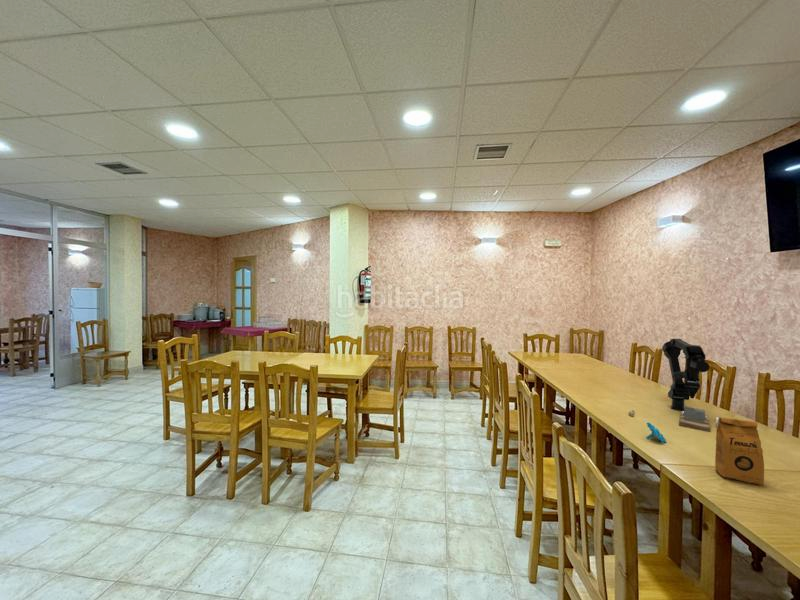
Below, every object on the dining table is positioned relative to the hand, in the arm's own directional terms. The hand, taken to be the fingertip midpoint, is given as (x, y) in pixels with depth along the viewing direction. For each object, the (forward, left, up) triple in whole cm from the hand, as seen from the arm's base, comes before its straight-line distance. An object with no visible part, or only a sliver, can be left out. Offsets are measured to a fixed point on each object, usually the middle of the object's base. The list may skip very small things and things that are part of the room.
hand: (691, 396), depth 186 cm
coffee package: (+68, +13, -12) cm, 70 cm away
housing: (+12, +1, -10) cm, 16 cm away
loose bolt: (+15, -26, -12) cm, 32 cm away
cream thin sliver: (+8, +12, -12) cm, 19 cm away
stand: (+12, +1, -12) cm, 17 cm away
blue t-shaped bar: (+47, -13, -12) cm, 51 cm away
